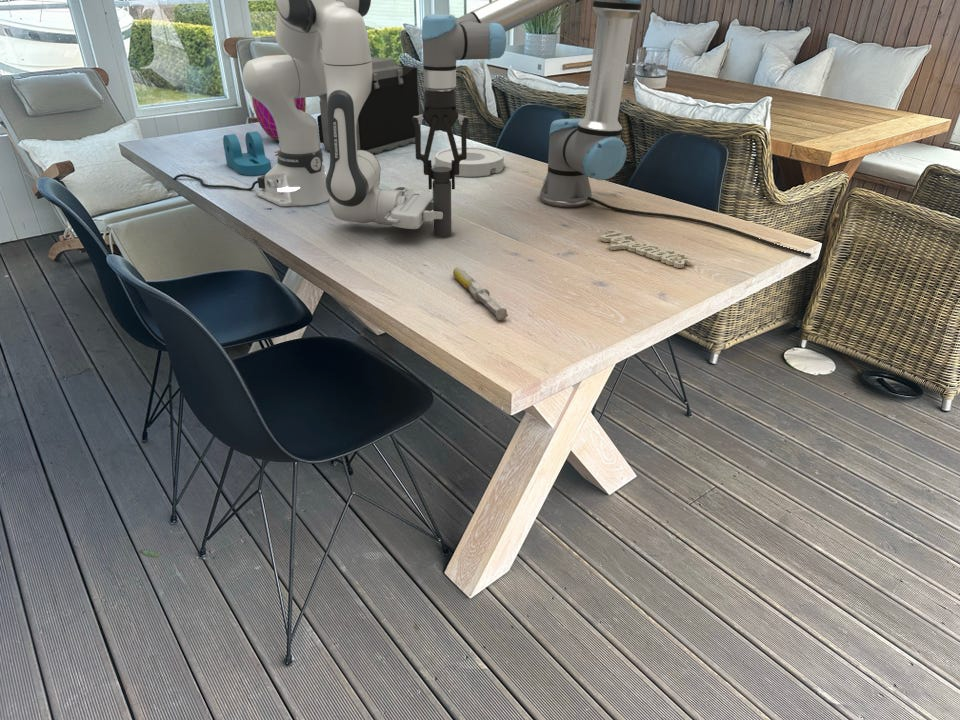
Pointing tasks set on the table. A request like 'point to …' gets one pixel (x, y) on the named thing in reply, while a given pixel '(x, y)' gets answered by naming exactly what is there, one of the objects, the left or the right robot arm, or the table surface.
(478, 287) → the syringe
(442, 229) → the dark grey cylinder
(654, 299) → the table surface
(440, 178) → the lid
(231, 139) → the camera mount
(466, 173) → the ashtray
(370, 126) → the cooler box
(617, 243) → the decorative sign
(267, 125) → the decorative egg
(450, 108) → the right robot arm
